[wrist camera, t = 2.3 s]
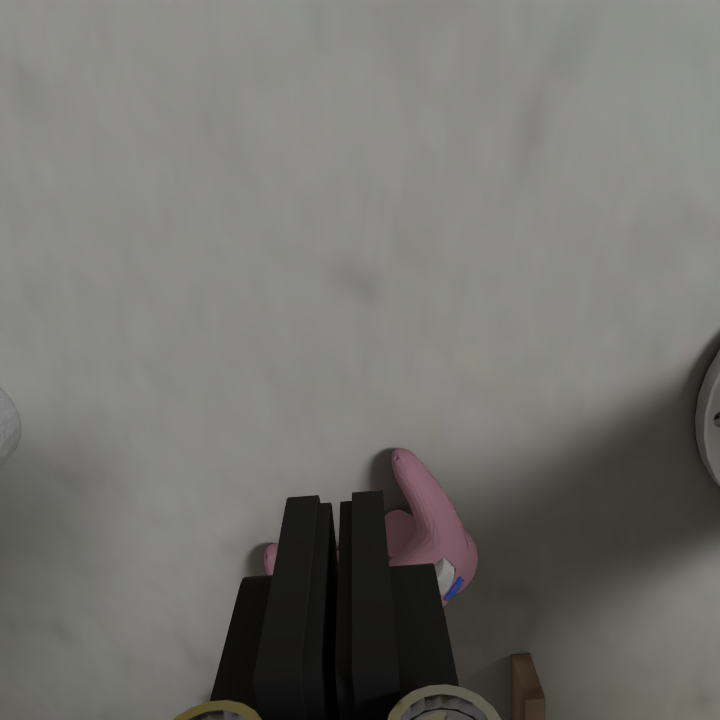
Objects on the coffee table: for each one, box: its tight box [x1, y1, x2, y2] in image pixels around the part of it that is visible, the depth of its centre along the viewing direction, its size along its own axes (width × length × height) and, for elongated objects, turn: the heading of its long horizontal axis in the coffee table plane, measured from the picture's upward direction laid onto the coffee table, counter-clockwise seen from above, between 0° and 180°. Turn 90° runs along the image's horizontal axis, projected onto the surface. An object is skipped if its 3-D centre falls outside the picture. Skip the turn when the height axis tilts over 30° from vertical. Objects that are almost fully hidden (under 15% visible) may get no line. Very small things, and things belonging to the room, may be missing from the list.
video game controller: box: [264, 448, 478, 608], centre depth 30 cm, size 10×5×7 cm, turn 130°
